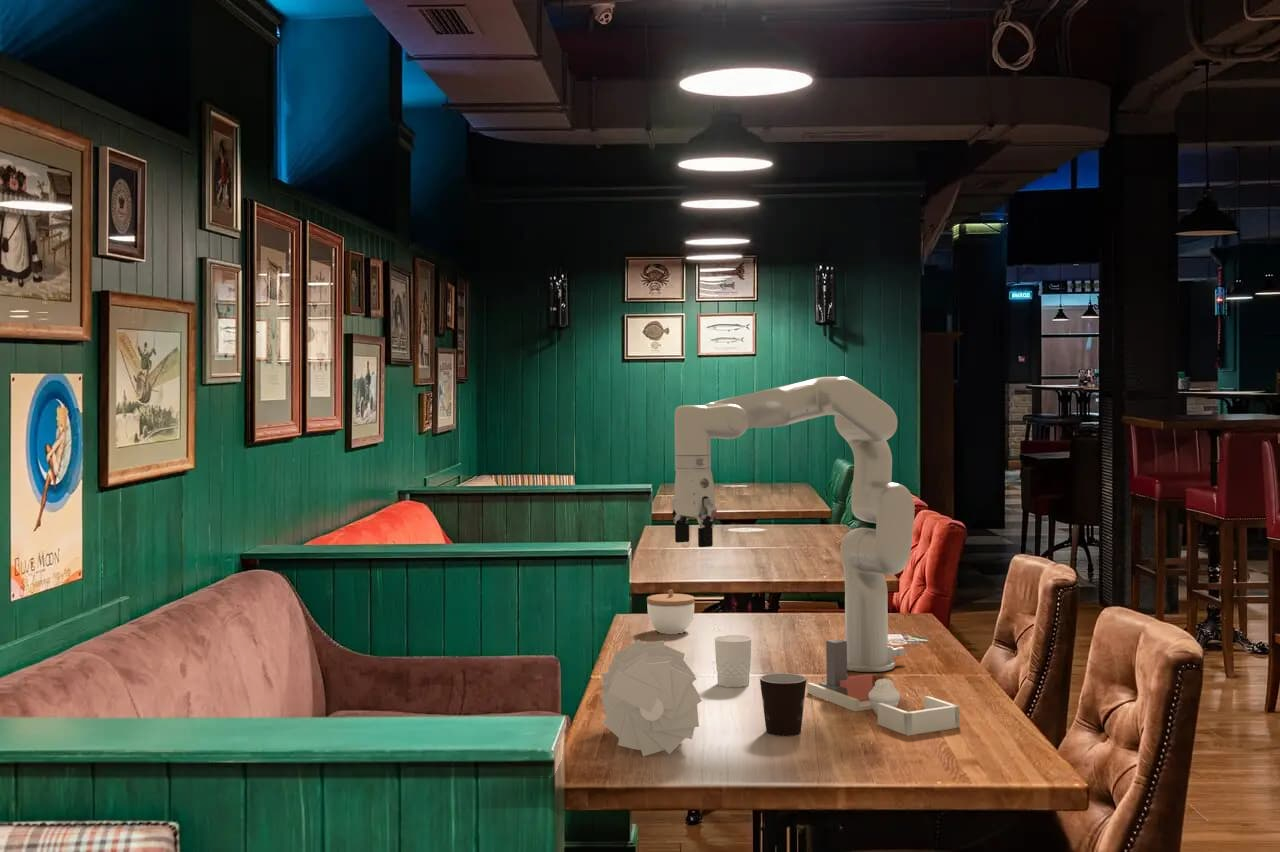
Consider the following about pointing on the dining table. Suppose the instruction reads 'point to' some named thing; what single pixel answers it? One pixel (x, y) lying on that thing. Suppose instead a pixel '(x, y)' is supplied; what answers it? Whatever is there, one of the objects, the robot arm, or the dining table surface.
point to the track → (839, 698)
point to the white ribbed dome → (883, 694)
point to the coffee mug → (783, 702)
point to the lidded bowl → (670, 612)
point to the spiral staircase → (650, 697)
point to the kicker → (844, 673)
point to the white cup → (733, 660)
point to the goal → (920, 717)
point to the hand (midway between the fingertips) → (693, 544)
